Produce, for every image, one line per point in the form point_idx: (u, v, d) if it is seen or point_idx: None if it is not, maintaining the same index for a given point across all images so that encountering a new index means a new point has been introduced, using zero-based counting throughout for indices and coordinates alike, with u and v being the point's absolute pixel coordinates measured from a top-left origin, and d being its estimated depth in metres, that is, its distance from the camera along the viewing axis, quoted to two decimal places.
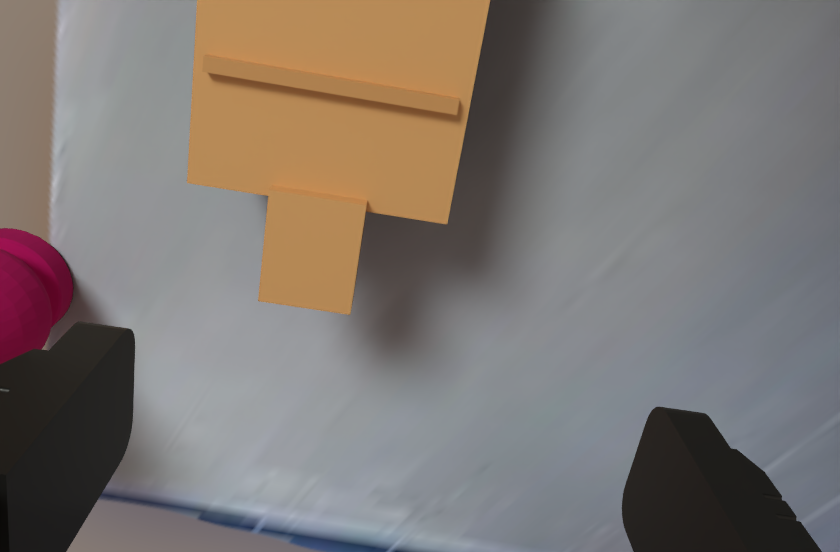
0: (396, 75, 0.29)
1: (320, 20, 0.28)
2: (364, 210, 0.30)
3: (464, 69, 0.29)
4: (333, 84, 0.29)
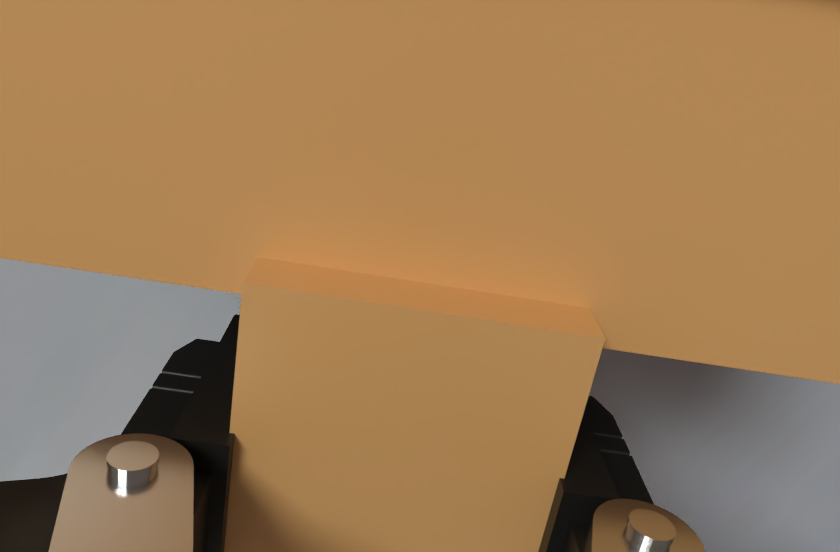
0: None
1: None
2: (595, 354, 0.08)
3: None
4: None
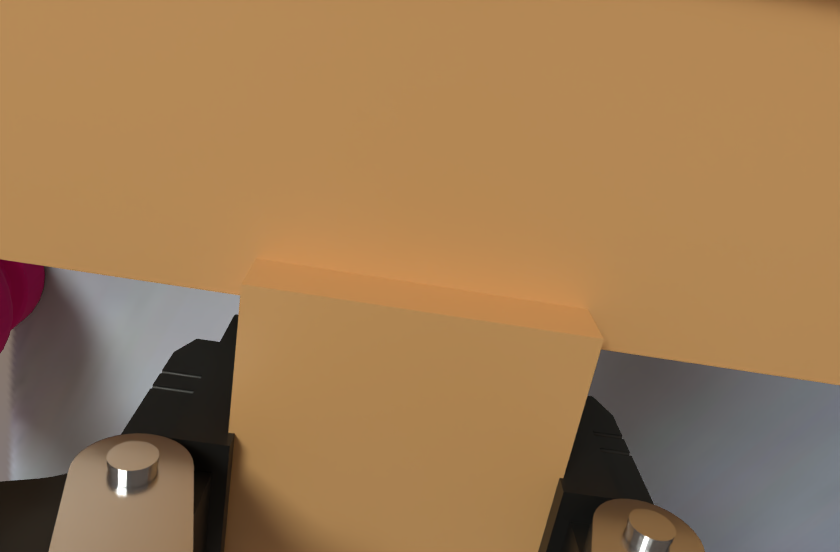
0: None
1: None
2: (594, 356, 0.08)
3: None
4: None
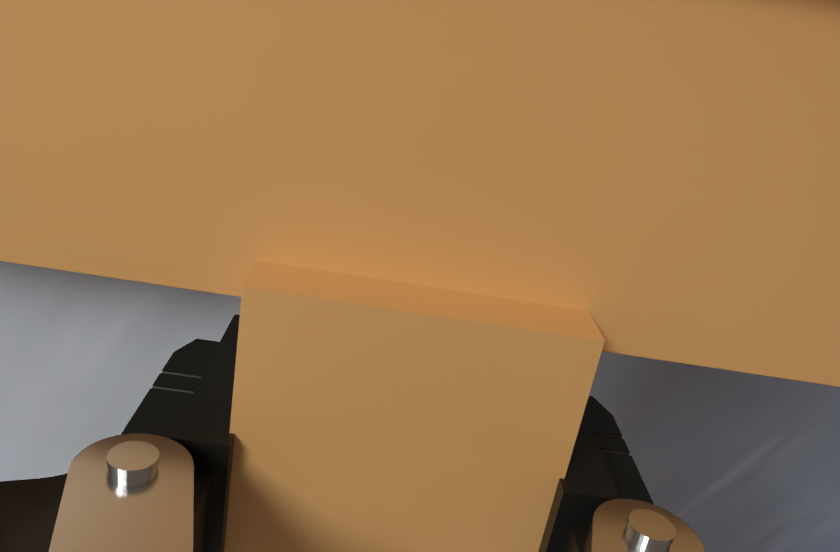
0: None
1: None
2: (595, 357, 0.08)
3: None
4: None
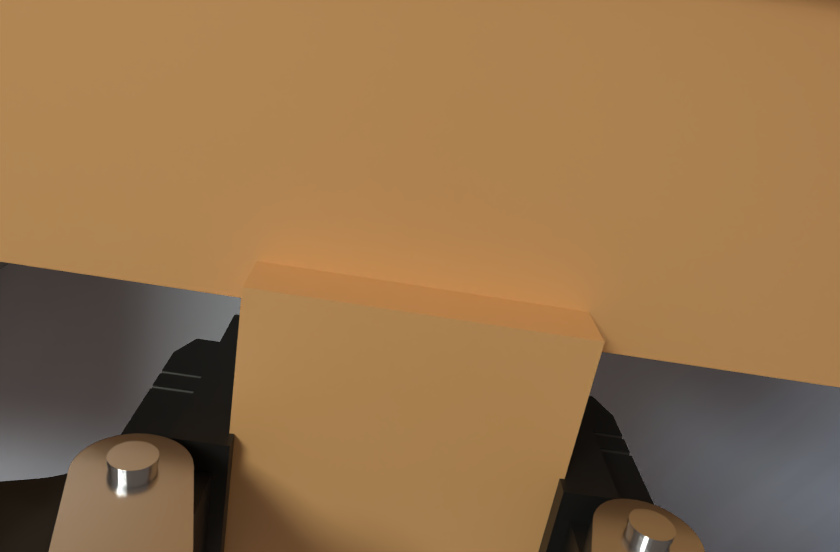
0: None
1: None
2: (595, 358, 0.08)
3: None
4: None
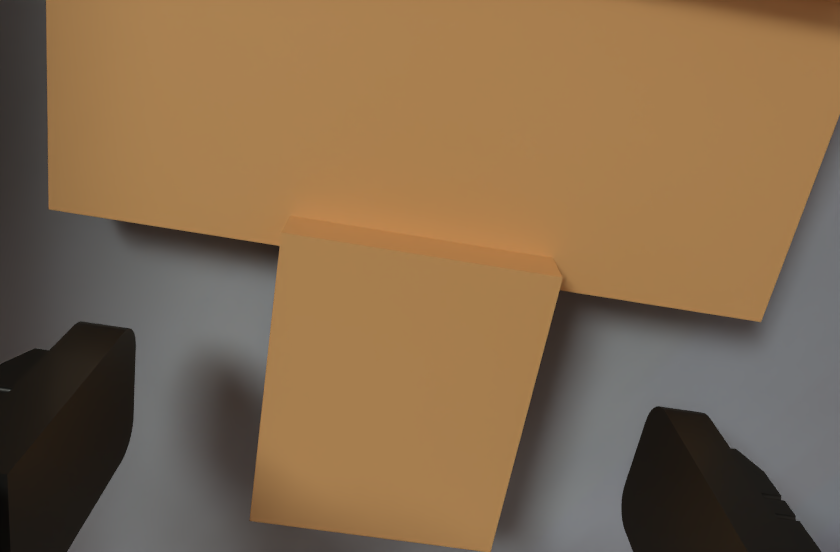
0: None
1: None
2: (555, 291, 0.11)
3: None
4: None
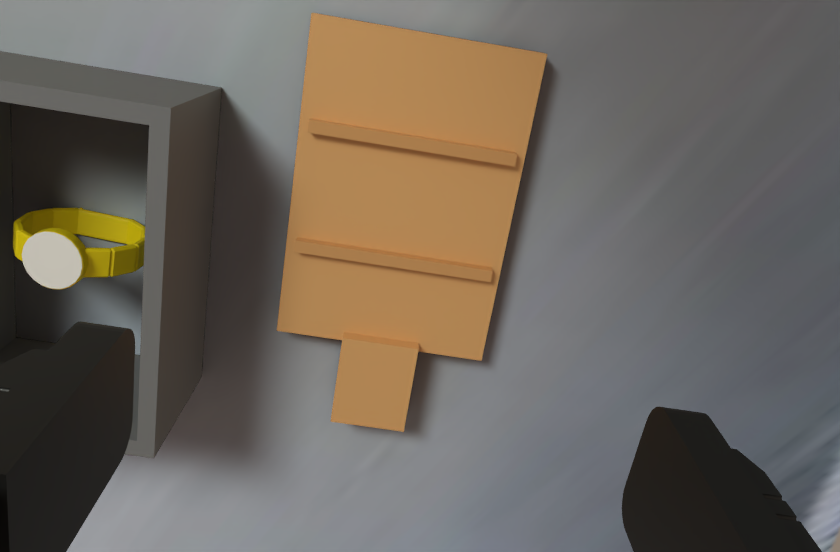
0: (443, 251, 0.38)
1: (385, 212, 0.37)
2: (417, 353, 0.39)
3: (496, 246, 0.37)
4: (395, 260, 0.37)
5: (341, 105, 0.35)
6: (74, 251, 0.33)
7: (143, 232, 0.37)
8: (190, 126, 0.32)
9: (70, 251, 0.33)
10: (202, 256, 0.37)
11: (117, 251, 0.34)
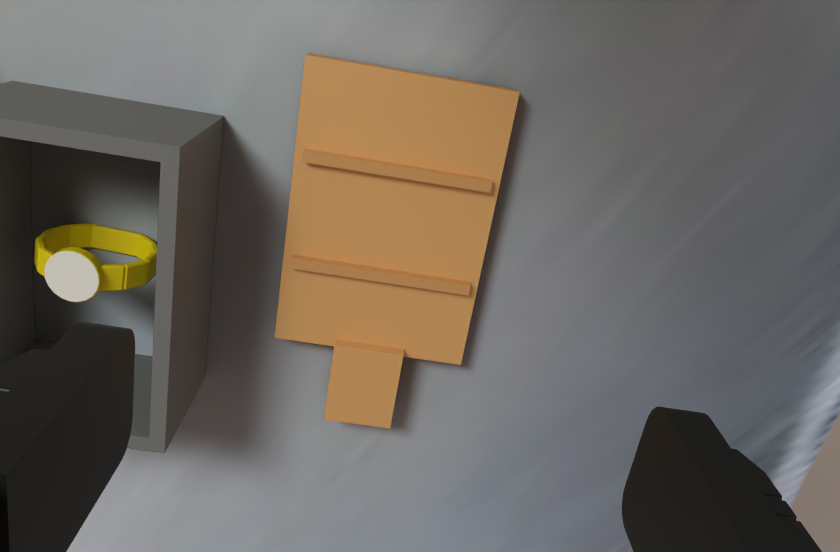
0: (425, 267, 0.41)
1: (373, 232, 0.40)
2: (402, 358, 0.42)
3: (474, 263, 0.41)
4: (381, 276, 0.41)
5: (332, 137, 0.38)
6: (91, 268, 0.36)
7: (152, 247, 0.40)
8: (196, 158, 0.35)
9: (88, 268, 0.37)
10: (206, 269, 0.41)
11: (130, 267, 0.38)
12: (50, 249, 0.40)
